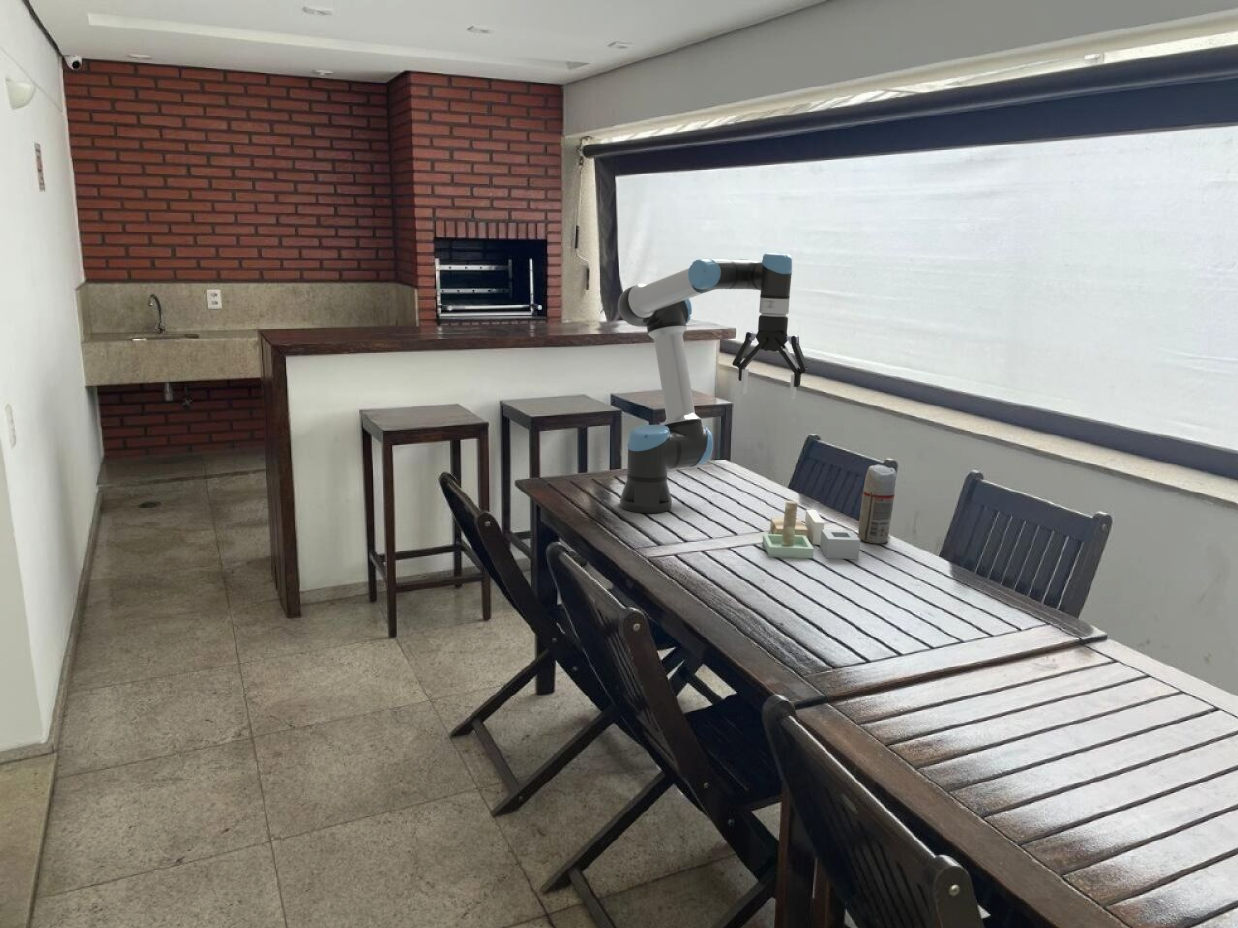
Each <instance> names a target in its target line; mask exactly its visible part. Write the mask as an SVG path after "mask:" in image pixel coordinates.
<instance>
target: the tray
mask: <svg viewBox="0 0 1238 928" xmlns="http://www.w3.org/2000/svg"><path fill="white" fill-rule="evenodd" d="M781 544H782V535H777V534H771V533H763V534H762V545H763V547H764V549H765V552H766V553H767V556H768V557H770V558H792V559H793V558H794V559H795V558H796V559H814V552H815V551H814V550H815V549H814V547H813V544H812V543H811V541H810V539H809V538H808V536H807V537H806V536H805V535H794V545H793V547H785V546H781Z"/></svg>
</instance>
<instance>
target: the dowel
mask: <svg viewBox="0 0 1238 928" xmlns="http://www.w3.org/2000/svg"><path fill="white" fill-rule="evenodd" d="M798 505H799V503H798V502H796V501H793V500H792V501H791V500H786V501H785V506H784V516H783V518H784V524H783V534H782V544H781V546H785V547H793V545H794V535H795V525H796V519H797V513H798Z"/></svg>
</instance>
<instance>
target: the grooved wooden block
mask: <svg viewBox="0 0 1238 928" xmlns="http://www.w3.org/2000/svg"><path fill="white" fill-rule="evenodd" d="M783 524H784V517H783V518H782V517H781V518H779V517H778V518H777V517H770V523H769V525H770V526H769V532H770V534H777V535H782V534H783ZM807 534H808V529H807V528H806V526H805V523H804V522H803V521H802V519H801V518H796V525H795V535H805V536H806V537H807V538H808V536H807Z"/></svg>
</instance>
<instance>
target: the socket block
mask: <svg viewBox="0 0 1238 928" xmlns="http://www.w3.org/2000/svg"><path fill="white" fill-rule="evenodd" d="M857 536H858V534H856V532H854V530H849V529H848V530H847V529H846V530H845V529H824V530H822V531H821V543H820V545H819V549H820V550H821V552H822V553H823V554H824V556H825V559H836V560H837V559H840V560H842V559H843V560H845V559H846V560H859V557H860V550H861V549H860V547H861V539H859V538H858V537H857Z"/></svg>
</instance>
